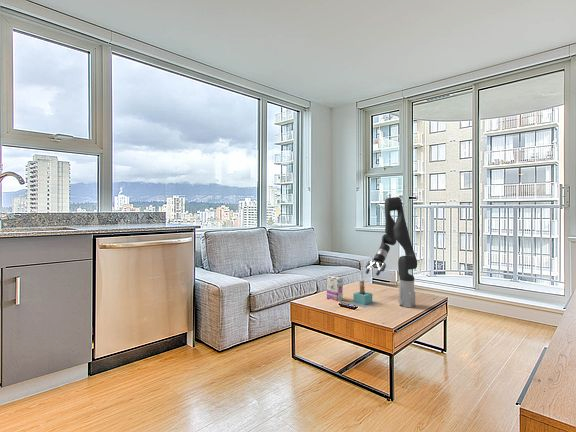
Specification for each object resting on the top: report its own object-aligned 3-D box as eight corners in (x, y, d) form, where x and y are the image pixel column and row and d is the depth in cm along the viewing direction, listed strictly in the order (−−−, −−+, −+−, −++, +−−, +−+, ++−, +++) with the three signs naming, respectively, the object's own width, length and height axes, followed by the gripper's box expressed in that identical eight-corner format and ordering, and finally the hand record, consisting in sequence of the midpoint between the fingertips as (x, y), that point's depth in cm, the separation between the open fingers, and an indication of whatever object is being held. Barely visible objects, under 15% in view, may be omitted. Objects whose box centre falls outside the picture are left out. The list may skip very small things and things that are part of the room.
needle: (366, 301, 227) (364, 281, 227) (363, 302, 225) (362, 281, 225) (362, 301, 229) (361, 280, 229) (359, 302, 227) (358, 281, 227)
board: (378, 304, 226) (378, 302, 226) (365, 309, 215) (365, 307, 215) (361, 299, 236) (361, 298, 236) (347, 304, 225) (347, 302, 225)
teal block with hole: (372, 302, 226) (372, 293, 226) (364, 305, 220) (364, 296, 220) (361, 299, 233) (361, 290, 233) (353, 302, 227) (353, 293, 227)
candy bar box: (342, 301, 232) (343, 278, 231) (337, 302, 229) (337, 279, 228) (331, 297, 241) (331, 275, 240) (326, 299, 238) (326, 276, 237)
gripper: (370, 252, 249) (361, 269, 241) (387, 254, 238) (378, 272, 231) (374, 258, 252) (365, 276, 245) (391, 260, 242) (382, 278, 234)
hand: (371, 274), depth 238 cm, fingers open, 8 cm apart
